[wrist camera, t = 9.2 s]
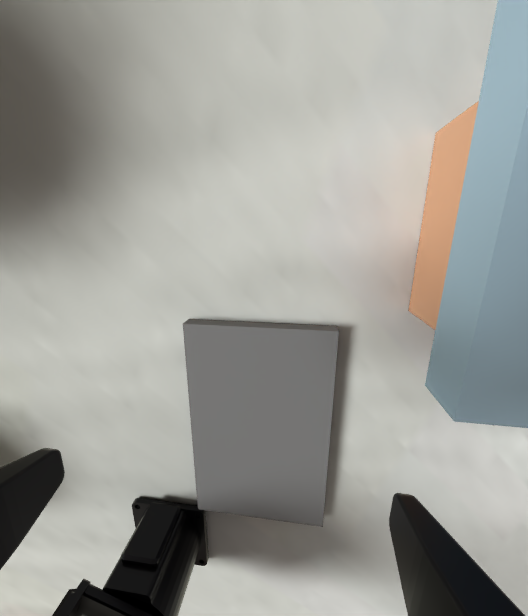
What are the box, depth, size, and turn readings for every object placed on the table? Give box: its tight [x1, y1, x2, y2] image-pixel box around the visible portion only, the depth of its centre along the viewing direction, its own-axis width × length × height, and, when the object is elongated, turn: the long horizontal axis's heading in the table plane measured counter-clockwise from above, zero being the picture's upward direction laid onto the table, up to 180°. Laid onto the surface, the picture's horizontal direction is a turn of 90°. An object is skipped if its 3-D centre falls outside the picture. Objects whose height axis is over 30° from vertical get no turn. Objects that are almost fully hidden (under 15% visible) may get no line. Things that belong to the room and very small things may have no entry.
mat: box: [183, 319, 339, 527], centre depth 20 cm, size 16×10×1 cm, turn 0°
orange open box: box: [409, 101, 479, 330], centre depth 13 cm, size 10×6×5 cm, turn 0°
